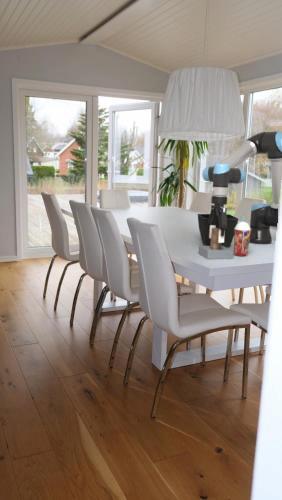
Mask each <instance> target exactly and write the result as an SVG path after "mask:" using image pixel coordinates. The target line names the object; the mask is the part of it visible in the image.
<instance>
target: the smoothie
mask: <svg viewBox="0 0 282 500" xmlns="http://www.w3.org/2000/svg"><path fill="white" fill-rule="evenodd" d="M234 229H235V230H234V237H233V254H234V256H237V257H247V254H248V251H249V246H250V242H249V240H250V234H251V228H250V223H248V222H246V221H245V215H243V216H242V221H240V222H239V221H238V224H237V225H236V227H235V228H234Z"/></svg>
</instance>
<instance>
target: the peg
mask: <svg viewBox="0 0 282 500" xmlns="http://www.w3.org/2000/svg"><path fill="white" fill-rule="evenodd" d="M218 236H219V228H212V232H211V246H210V249H212V250H221V243H218Z"/></svg>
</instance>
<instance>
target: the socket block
mask: <svg viewBox="0 0 282 500" xmlns="http://www.w3.org/2000/svg"><path fill="white" fill-rule="evenodd" d="M197 254H198V255H200V256H202V257H203V258H204V259H206V260H233V259H234V250H232V249H230V248H229V247H224V246H221V250H212V249H210V246H205V245H198V253H197Z"/></svg>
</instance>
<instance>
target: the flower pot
mask: <svg viewBox="0 0 282 500" xmlns="http://www.w3.org/2000/svg"><path fill="white" fill-rule="evenodd" d="M226 214H227V229H225V235H224V243H221V246H224V247H226V248H230V247H231V245H232V242H233V241H234V230H235V229H234V228H235V227H236V225H237V224H238V223H239V218H238V217H236V216H234V215H232V214H228V213H226ZM209 217H210V213H197V223H198V229H199V235H200V239H201V242H202V244H203V246H211V238H209V233H210V223H208V221H209ZM210 221H211V220H210ZM215 226H216V228H220V225H219V219H218V217H217V220H216V225H215Z"/></svg>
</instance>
